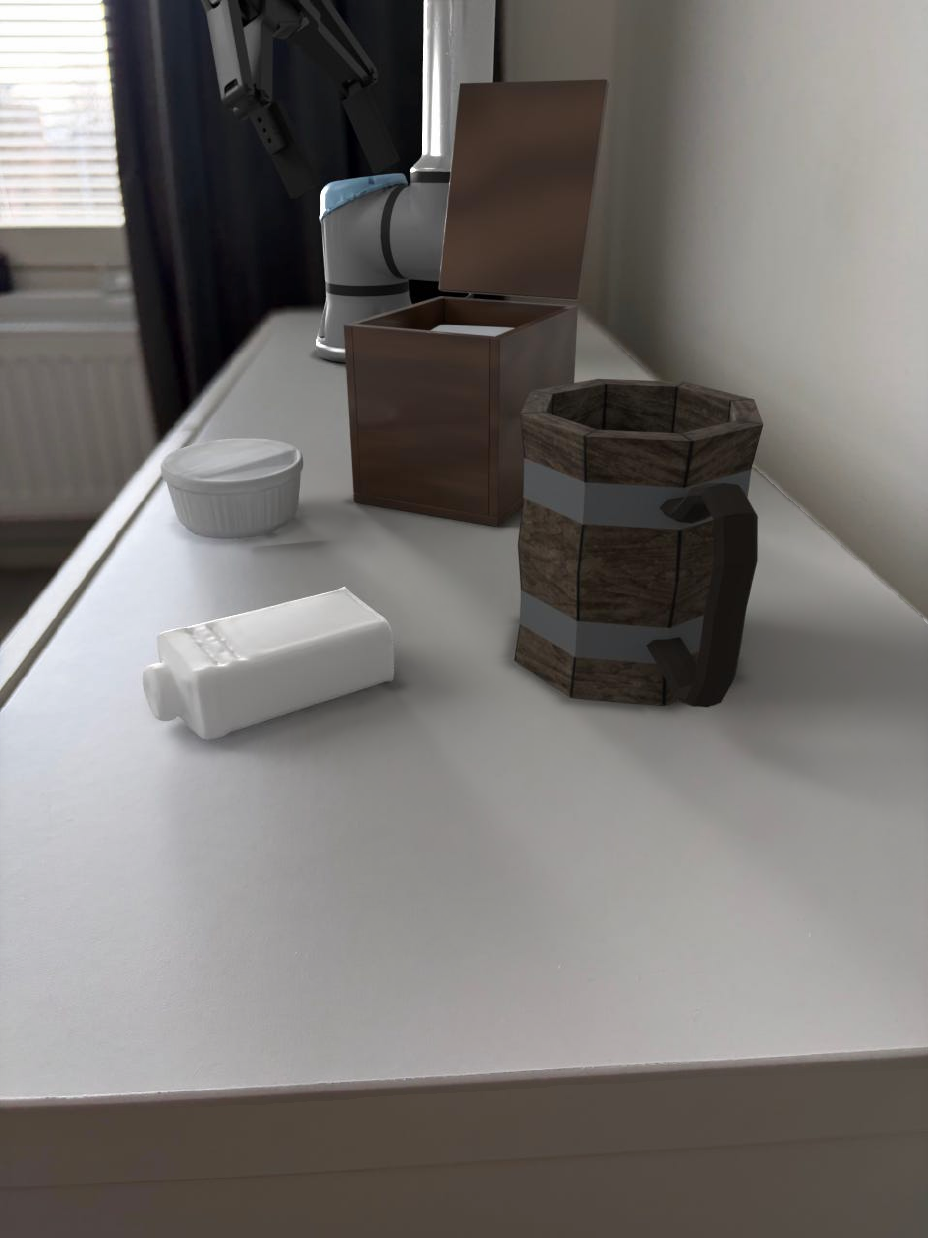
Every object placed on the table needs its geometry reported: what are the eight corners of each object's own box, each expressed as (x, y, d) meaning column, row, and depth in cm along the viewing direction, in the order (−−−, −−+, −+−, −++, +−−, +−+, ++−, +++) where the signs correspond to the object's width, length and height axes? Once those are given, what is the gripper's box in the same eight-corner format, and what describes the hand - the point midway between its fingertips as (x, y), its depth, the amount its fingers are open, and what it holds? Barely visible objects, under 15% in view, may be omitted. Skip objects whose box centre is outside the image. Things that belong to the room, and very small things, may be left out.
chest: (497, 527, 77) (499, 338, 71) (353, 501, 83) (343, 324, 76) (570, 468, 91) (578, 305, 84) (442, 450, 96) (440, 295, 89)
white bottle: (137, 703, 54) (124, 636, 52) (344, 641, 60) (339, 579, 58) (175, 760, 49) (162, 688, 47) (395, 686, 55) (393, 620, 53)
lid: (606, 78, 79) (609, 82, 80) (459, 82, 85) (463, 85, 86) (576, 299, 83) (580, 300, 84) (438, 289, 89) (442, 291, 89)
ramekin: (280, 550, 73) (273, 483, 71) (144, 540, 75) (133, 475, 73) (325, 500, 83) (321, 440, 81) (204, 493, 85) (196, 434, 82)
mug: (487, 611, 64) (489, 384, 57) (678, 592, 66) (701, 372, 59) (583, 788, 46) (602, 493, 40) (835, 752, 49) (894, 470, 42)
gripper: (283, -58, 88) (386, 175, 94) (85, -70, 69) (231, 223, 76) (344, -108, 83) (446, 140, 90) (150, -135, 64) (299, 182, 71)
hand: (348, 178), depth 83 cm, fingers open, 13 cm apart
